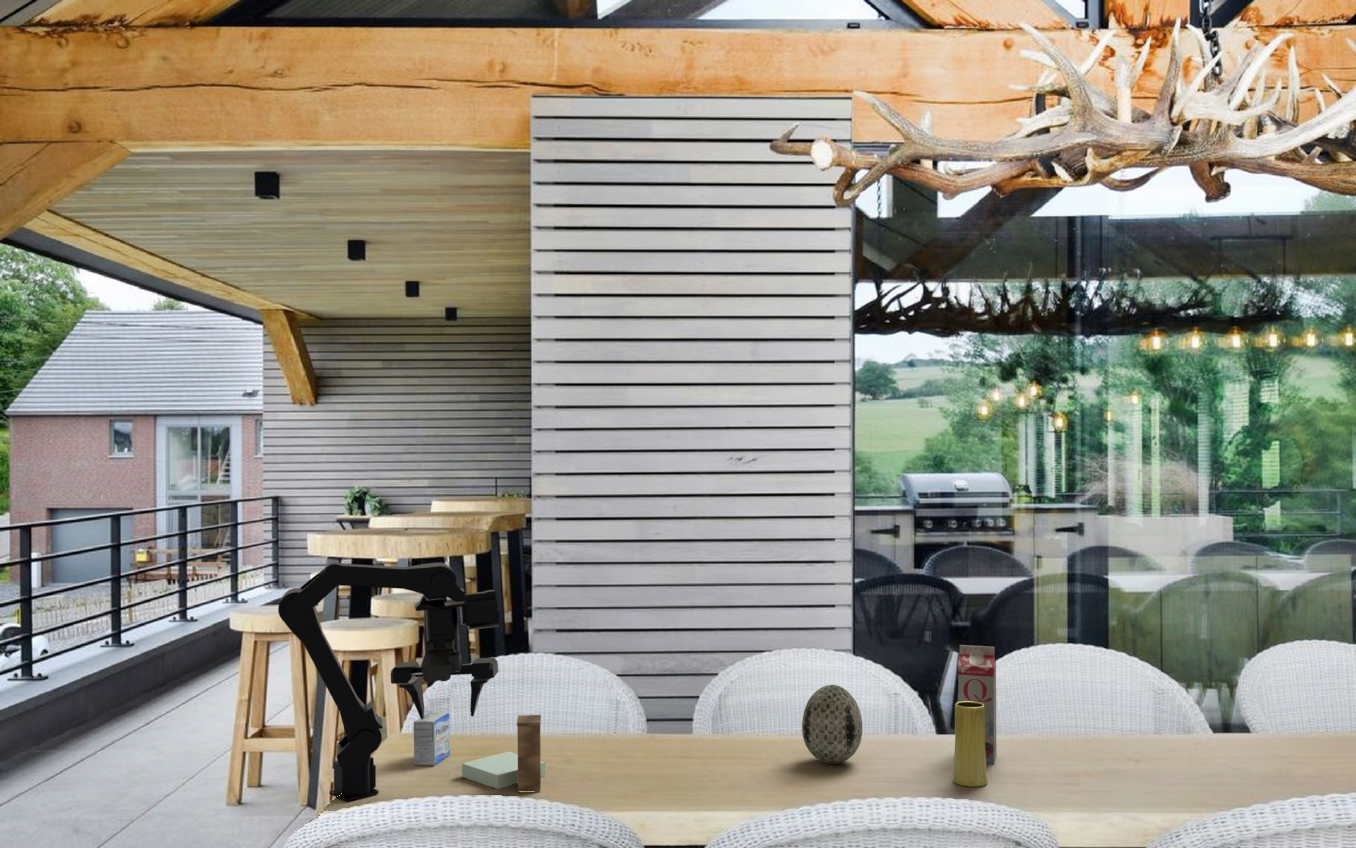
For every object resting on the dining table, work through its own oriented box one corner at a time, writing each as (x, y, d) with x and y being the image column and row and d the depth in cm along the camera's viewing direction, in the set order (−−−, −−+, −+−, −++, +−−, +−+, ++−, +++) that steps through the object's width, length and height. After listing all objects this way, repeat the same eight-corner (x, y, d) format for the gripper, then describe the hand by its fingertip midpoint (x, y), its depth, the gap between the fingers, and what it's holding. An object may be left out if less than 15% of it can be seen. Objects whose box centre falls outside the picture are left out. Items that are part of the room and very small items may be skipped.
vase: (962, 775, 219) (961, 699, 219) (993, 781, 215) (992, 703, 215) (947, 783, 214) (946, 705, 214) (978, 789, 210) (978, 710, 210)
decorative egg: (790, 759, 230) (790, 683, 230) (839, 751, 235) (839, 676, 235) (824, 775, 220) (823, 695, 220) (875, 766, 225) (874, 688, 225)
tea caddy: (517, 793, 210) (516, 723, 210) (518, 783, 216) (517, 715, 216) (540, 792, 210) (540, 722, 210) (541, 782, 216) (540, 714, 216)
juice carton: (994, 764, 226) (993, 650, 226) (958, 761, 228) (958, 648, 228) (996, 754, 232) (995, 643, 232) (962, 752, 234) (961, 642, 234)
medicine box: (434, 766, 227) (434, 722, 227) (413, 765, 228) (413, 721, 228) (450, 755, 235) (450, 712, 235) (429, 754, 235) (429, 711, 235)
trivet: (497, 789, 212) (497, 775, 212) (462, 776, 220) (462, 763, 220) (545, 775, 220) (544, 762, 220) (508, 764, 228) (508, 751, 228)
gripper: (380, 644, 206) (385, 732, 206) (485, 638, 206) (490, 726, 206) (396, 632, 217) (401, 715, 218) (496, 626, 217) (501, 710, 217)
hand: (447, 717), depth 214 cm, fingers open, 9 cm apart
